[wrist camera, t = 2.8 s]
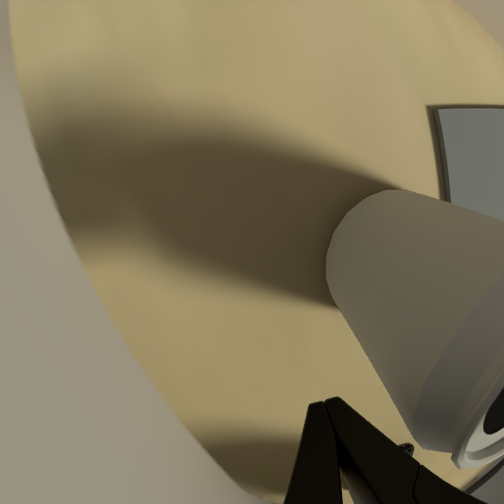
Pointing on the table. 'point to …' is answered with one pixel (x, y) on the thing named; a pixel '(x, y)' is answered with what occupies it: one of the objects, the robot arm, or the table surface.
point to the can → (428, 315)
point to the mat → (473, 158)
